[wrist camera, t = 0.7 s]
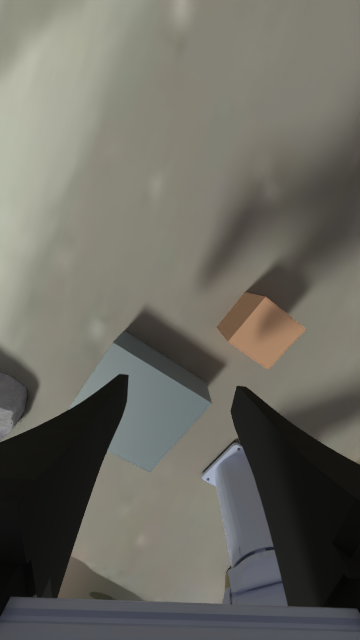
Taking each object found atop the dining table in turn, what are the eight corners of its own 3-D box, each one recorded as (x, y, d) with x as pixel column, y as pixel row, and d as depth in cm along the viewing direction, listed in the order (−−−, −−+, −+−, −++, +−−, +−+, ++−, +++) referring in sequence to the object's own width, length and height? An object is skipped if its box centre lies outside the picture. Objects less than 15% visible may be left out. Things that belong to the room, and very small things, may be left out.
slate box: (205, 380, 21) (211, 403, 18) (154, 440, 24) (149, 472, 20) (125, 329, 20) (112, 342, 16) (78, 400, 22) (56, 426, 18)
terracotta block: (276, 317, 19) (306, 329, 15) (248, 349, 20) (268, 369, 16) (244, 292, 18) (265, 296, 14) (216, 327, 19) (227, 341, 15)
